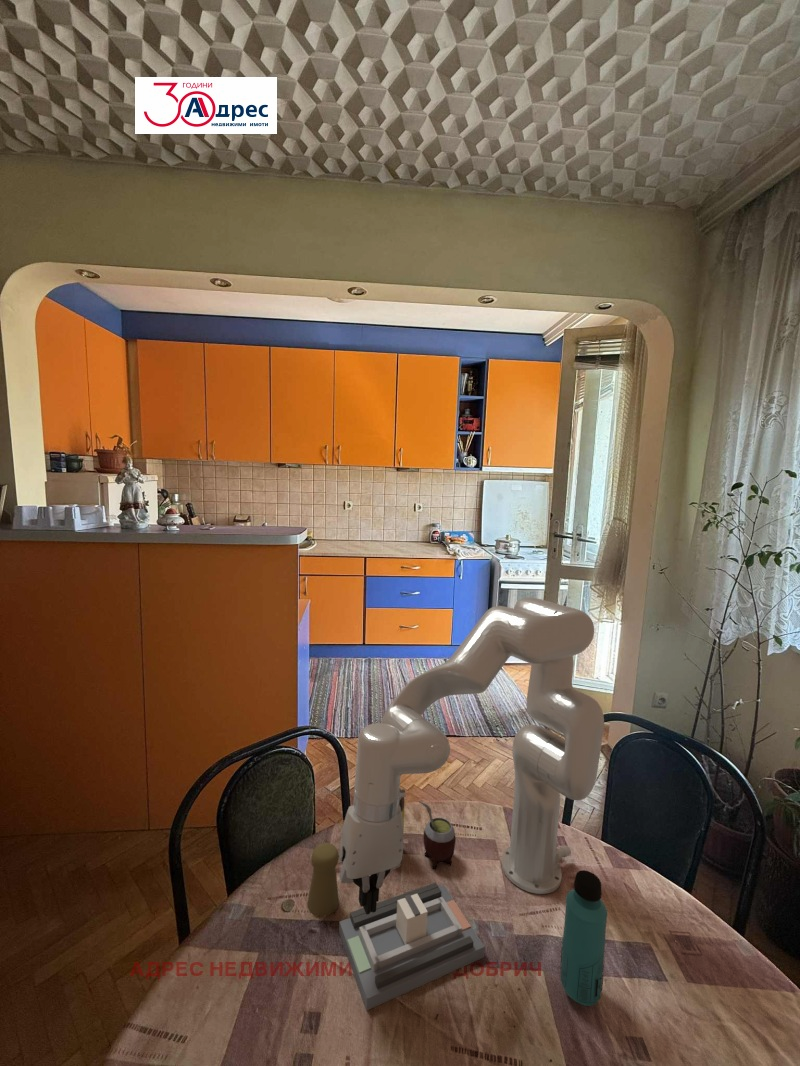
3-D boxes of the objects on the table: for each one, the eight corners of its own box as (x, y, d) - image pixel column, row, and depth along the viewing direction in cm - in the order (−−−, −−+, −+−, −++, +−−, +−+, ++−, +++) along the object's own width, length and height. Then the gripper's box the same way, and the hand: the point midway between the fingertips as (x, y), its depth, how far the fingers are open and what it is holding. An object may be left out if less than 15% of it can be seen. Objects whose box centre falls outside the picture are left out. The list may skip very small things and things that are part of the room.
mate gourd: (457, 854, 104) (461, 790, 103) (447, 880, 96) (452, 811, 95) (426, 843, 106) (430, 781, 105) (414, 867, 99) (418, 801, 98)
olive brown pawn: (332, 919, 86) (335, 864, 85) (302, 912, 87) (304, 857, 86) (342, 893, 92) (345, 840, 91) (314, 886, 93) (316, 835, 92)
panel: (443, 893, 93) (444, 878, 93) (483, 957, 80) (485, 940, 80) (338, 931, 83) (339, 915, 83) (366, 1010, 71) (367, 991, 71)
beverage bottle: (597, 1025, 70) (608, 903, 69) (553, 999, 74) (563, 882, 73) (603, 988, 76) (614, 874, 75) (562, 965, 80) (571, 856, 78)
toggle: (415, 918, 84) (417, 891, 84) (426, 938, 81) (427, 910, 80) (395, 926, 83) (397, 898, 82) (405, 946, 79) (407, 917, 79)
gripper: (406, 780, 83) (398, 877, 84) (326, 797, 77) (318, 901, 78) (426, 806, 76) (417, 911, 77) (339, 827, 70) (331, 941, 71)
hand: (368, 906), depth 77 cm, fingers closed
